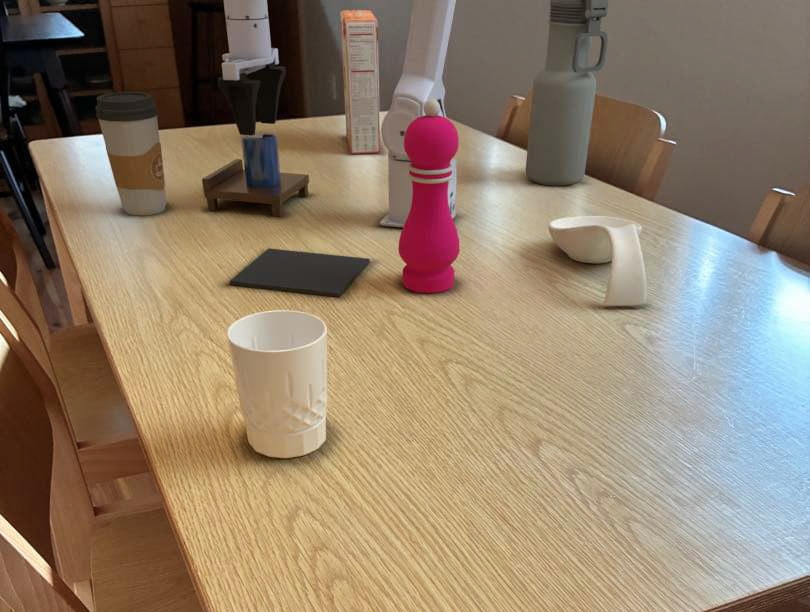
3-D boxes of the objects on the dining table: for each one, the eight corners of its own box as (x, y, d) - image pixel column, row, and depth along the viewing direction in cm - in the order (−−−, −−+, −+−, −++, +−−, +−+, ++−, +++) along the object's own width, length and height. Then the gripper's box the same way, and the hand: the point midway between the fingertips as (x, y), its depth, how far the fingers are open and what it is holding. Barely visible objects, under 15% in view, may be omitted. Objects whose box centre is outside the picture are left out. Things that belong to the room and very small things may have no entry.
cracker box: (344, 137, 157) (339, 9, 144) (375, 136, 158) (372, 9, 145) (348, 155, 146) (343, 18, 133) (381, 154, 147) (379, 18, 134)
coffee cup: (159, 219, 117) (138, 104, 107) (106, 215, 118) (81, 101, 109) (182, 203, 123) (165, 92, 114) (132, 199, 124) (110, 89, 115)
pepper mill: (464, 277, 100) (474, 95, 87) (448, 298, 94) (455, 108, 82) (409, 269, 101) (410, 91, 89) (390, 290, 96) (388, 103, 84)
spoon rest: (537, 240, 110) (543, 185, 106) (622, 239, 111) (631, 184, 106) (576, 309, 92) (585, 246, 87) (677, 307, 92) (691, 244, 88)
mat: (369, 262, 104) (369, 258, 103) (339, 297, 94) (339, 293, 94) (268, 252, 106) (268, 248, 106) (229, 285, 97) (229, 280, 97)
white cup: (245, 417, 73) (230, 311, 66) (332, 413, 73) (326, 308, 67) (238, 465, 67) (221, 353, 60) (334, 461, 67) (327, 349, 61)
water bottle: (597, 181, 133) (627, -25, 116) (554, 191, 129) (578, -22, 112) (555, 167, 140) (578, -29, 122) (512, 176, 136) (529, -27, 118)
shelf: (310, 194, 127) (308, 164, 124) (281, 217, 118) (278, 185, 115) (240, 188, 129) (236, 158, 126) (206, 210, 120) (201, 178, 117)
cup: (286, 179, 123) (282, 132, 119) (272, 188, 119) (268, 139, 115) (254, 176, 124) (249, 129, 120) (240, 185, 120) (234, 137, 116)
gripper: (242, 10, 115) (253, 116, 123) (195, 22, 104) (210, 138, 112) (288, 12, 113) (296, 119, 122) (245, 24, 102) (257, 141, 111)
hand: (258, 128), depth 117 cm, fingers open, 7 cm apart
